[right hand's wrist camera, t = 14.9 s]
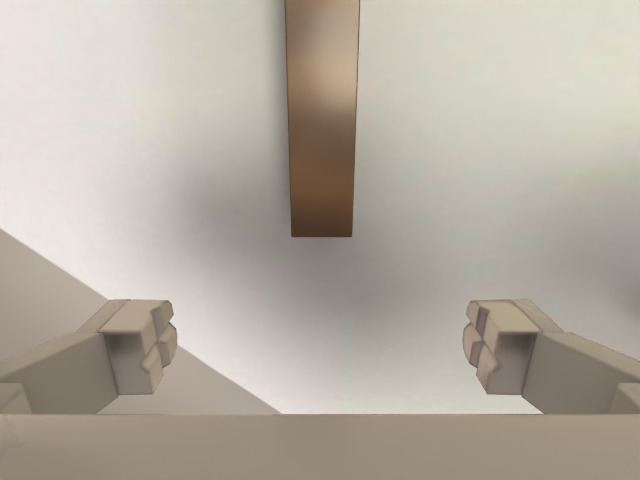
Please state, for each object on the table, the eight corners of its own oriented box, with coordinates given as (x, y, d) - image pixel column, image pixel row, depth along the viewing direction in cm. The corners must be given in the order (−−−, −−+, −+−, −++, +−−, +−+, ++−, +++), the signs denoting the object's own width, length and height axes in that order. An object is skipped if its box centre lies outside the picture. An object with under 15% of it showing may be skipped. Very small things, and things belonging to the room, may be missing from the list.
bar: (344, 204, 35) (352, 237, 27) (298, 204, 35) (291, 237, 27) (352, -117, 27) (367, -218, 18) (291, -118, 27) (278, -218, 18)
